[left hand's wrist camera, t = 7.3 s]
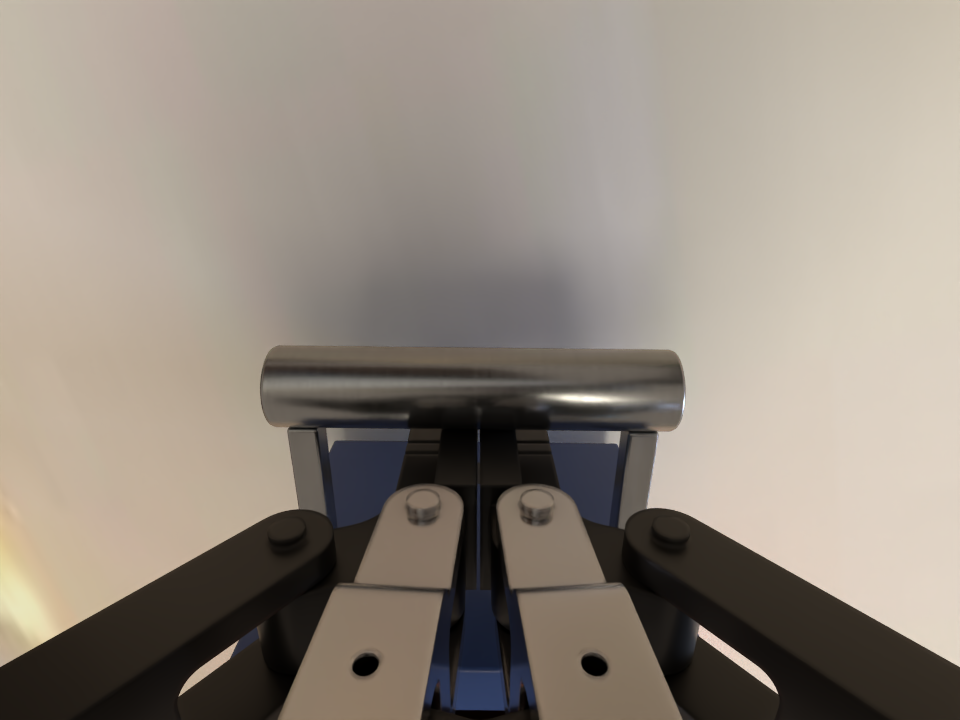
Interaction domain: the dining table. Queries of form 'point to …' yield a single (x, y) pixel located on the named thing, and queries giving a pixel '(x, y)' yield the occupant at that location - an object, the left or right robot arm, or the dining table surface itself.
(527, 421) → the drawer
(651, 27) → the dining table surface
